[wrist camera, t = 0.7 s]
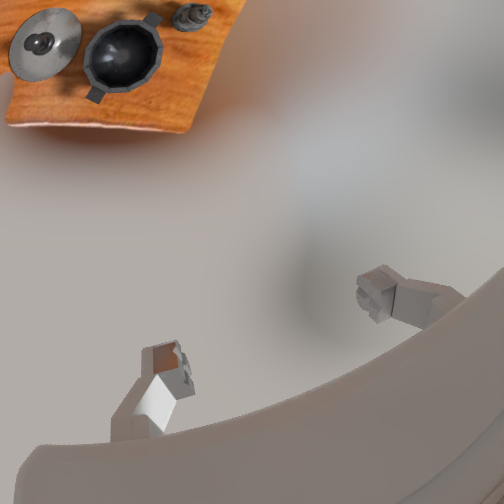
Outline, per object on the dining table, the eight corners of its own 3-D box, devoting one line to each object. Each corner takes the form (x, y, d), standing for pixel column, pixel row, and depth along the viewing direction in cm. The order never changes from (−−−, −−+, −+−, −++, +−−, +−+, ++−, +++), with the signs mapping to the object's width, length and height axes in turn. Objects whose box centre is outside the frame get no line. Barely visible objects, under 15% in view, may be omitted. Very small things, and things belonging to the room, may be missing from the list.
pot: (68, 83, 32) (60, 87, 27) (126, 4, 27) (129, -5, 22) (120, 109, 41) (122, 118, 35) (177, 36, 36) (188, 32, 31)
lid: (-2, 68, 22) (-21, 73, 16) (41, -1, 18) (28, -10, 12) (52, 91, 32) (41, 98, 26) (97, 24, 28) (94, 17, 22)
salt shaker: (174, 37, 36) (192, 32, 28) (166, 11, 31) (182, -2, 24) (205, 28, 37) (230, 23, 29) (198, 2, 32) (222, -10, 25)
